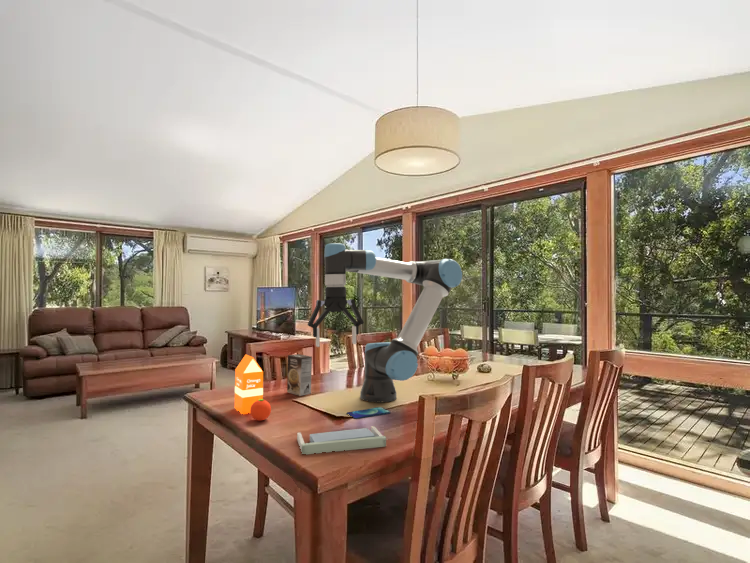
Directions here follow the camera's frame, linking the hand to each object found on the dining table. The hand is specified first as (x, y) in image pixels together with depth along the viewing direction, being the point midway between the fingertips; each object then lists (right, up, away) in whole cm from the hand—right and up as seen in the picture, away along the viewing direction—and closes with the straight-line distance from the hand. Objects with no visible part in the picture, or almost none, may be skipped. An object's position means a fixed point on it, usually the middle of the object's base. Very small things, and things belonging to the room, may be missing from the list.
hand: (336, 345), depth 150 cm
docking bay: (+4, -24, -28) cm, 37 cm away
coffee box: (-19, -26, +30) cm, 44 cm away
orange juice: (-33, -25, +4) cm, 41 cm away
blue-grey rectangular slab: (+4, -25, -27) cm, 37 cm away
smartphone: (+12, -26, +1) cm, 28 cm away
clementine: (-25, -25, -8) cm, 36 cm away
